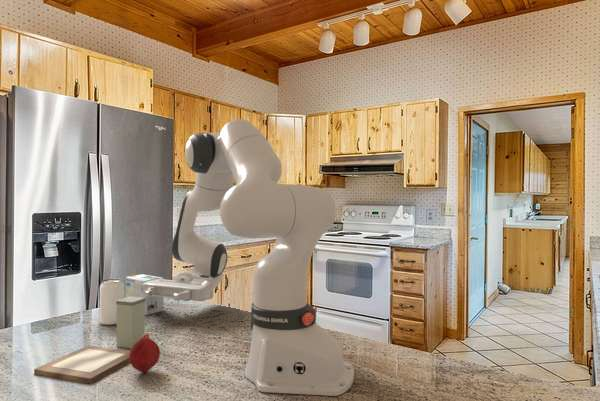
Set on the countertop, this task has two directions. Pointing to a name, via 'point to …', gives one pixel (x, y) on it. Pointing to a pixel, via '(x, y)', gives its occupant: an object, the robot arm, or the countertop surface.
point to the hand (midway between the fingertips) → (160, 296)
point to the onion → (144, 354)
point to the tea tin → (130, 321)
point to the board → (85, 364)
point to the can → (110, 300)
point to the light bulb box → (136, 290)
